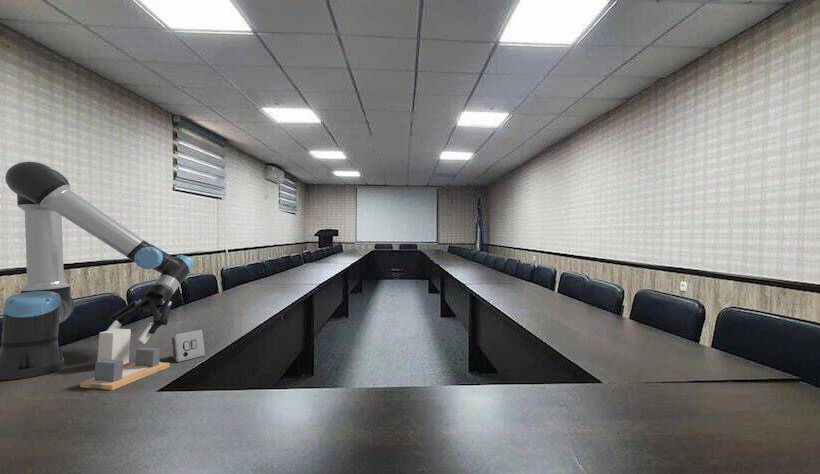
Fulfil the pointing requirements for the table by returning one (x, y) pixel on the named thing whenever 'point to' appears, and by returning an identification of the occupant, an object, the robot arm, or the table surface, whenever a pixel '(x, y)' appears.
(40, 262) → the robot arm
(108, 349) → the block
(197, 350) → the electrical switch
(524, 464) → the table surface
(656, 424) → the table surface
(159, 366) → the board
